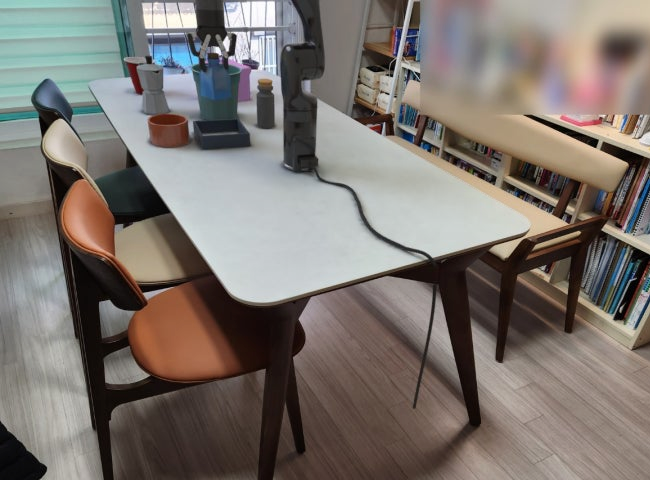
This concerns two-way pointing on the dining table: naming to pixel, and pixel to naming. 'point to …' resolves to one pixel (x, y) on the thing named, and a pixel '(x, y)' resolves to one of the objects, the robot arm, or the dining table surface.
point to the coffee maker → (152, 88)
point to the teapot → (241, 80)
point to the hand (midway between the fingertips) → (214, 71)
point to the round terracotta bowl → (168, 130)
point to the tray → (221, 140)
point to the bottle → (265, 104)
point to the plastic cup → (135, 71)
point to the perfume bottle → (215, 79)
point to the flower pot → (223, 106)
